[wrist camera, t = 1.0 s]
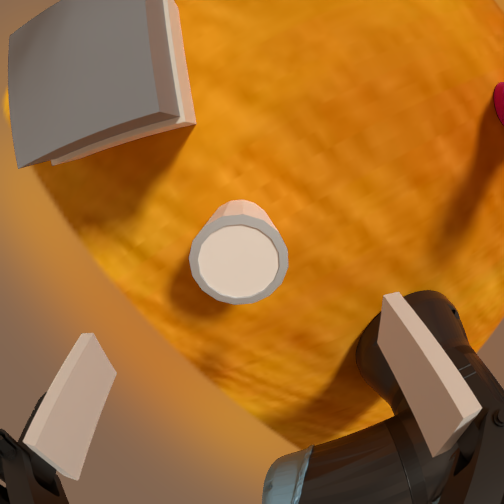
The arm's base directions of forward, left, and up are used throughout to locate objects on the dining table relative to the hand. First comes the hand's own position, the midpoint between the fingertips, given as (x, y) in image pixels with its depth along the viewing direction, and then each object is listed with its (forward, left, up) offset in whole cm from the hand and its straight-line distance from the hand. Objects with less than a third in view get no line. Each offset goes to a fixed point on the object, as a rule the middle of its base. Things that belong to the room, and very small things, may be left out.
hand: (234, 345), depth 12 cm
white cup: (0, 0, -16) cm, 16 cm away
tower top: (+16, +8, -11) cm, 21 cm away
